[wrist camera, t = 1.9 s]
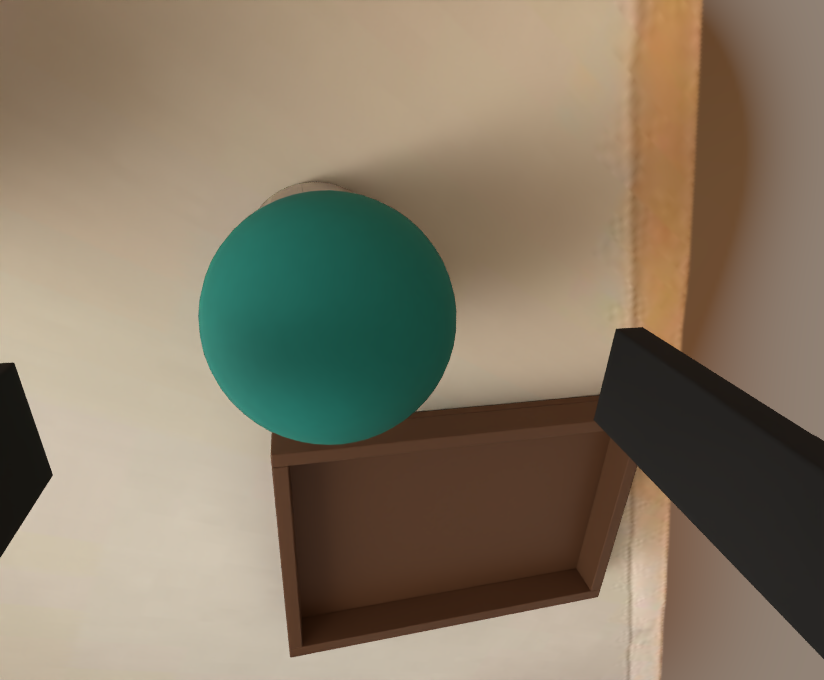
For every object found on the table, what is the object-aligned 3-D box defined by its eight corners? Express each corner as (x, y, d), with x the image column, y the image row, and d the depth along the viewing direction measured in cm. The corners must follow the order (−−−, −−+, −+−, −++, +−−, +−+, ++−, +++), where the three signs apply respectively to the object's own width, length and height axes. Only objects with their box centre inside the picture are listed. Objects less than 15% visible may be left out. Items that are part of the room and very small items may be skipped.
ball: (417, 363, 22) (479, 483, 15) (229, 376, 20) (198, 520, 13) (427, 177, 18) (514, 218, 11) (202, 172, 17) (142, 218, 10)
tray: (579, 567, 37) (598, 597, 35) (289, 619, 32) (290, 658, 30) (625, 392, 31) (652, 415, 28) (271, 425, 26) (270, 455, 24)
